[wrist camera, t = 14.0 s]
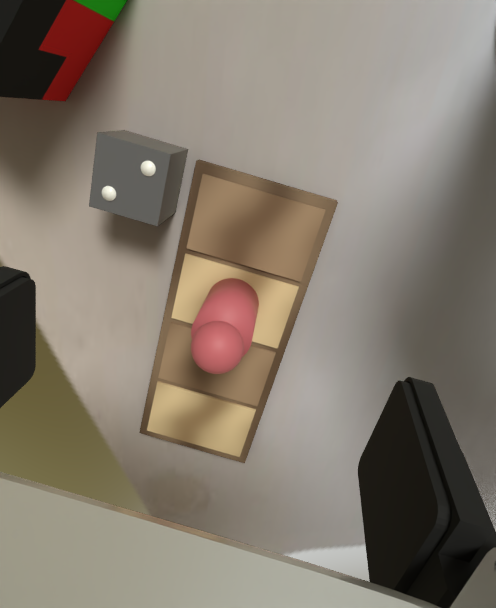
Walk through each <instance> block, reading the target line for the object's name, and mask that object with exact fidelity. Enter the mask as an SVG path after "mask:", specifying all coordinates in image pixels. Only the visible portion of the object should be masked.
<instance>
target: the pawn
mask: <svg viewBox="0 0 496 608" xmlns="http://www.w3.org/2000/svg"><path fill="white" fill-rule="evenodd" d="M258 308H259V299H258V296H257V293H256V291H255V290H254V289H253V288H252V286H250V285H249V284H248V283H247V282H245V281H243V280H240V279H236V278H228V279H223V280H221V281H219V282H217V283H216V284H214V285H213V286H212V288H211V289H210V291H209V293H208V295H207V297H206V299H205V301H204V303H203V305H202V307H201V309H200V311H199V313H198V315H197V317H196V319H195V321H194V323H193V325H192V329H191V338H192V342H191V353H192V357H193V359H194V361H195V363H196V364H197V365H198V366H199V367H200V368H201V369H202V370H204V371H206V372H208V373H212V374H223V373H226V372H229V371H231V370H232V369H234V368H235V367H236V366H237V365H238V364H239V362H240V361H241V359H242V357H243V356H244V355H245V354H246V353H247V352H248V350H249V348H250V346H251V343H252V338H253V333H254V328H255V323H256V318H257V313H258Z"/></svg>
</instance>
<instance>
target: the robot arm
mask: <svg viewBox="0 0 496 608" xmlns="http://www.w3.org/2000/svg"><path fill="white" fill-rule="evenodd" d="M35 328H36V287H35V282H34V281H33V280H31V279H30V276H29V274H28V273H27V272H24V271H20V270H16V269H13V268H9V267H5V266H3V267H0V408H1V407H2V406H3V405H4V404H5V403H6V402H7V401H8V400H9V399H10V398H11V397H12V396H13V395H14V394H15V393H16V392H17V391H18V390H20V389H21V387H23V386H24V385H25V384H26V383H27V382H28V381H29V380H30V379H31V377H32V376H33V373H34V371H35V338H36V336H35V334H36V333H35V332H36V329H35ZM358 478H359V487H360V496H361V506H362V515H363V524H364V533H365V542H366V552H367V560H368V570H369V579H370V582H368V581H365V580H361V579H358V578H355V577H352V576H349V575H345V574H343V573H339V572H336V571H333V570H330V569H327V568H324V567H320V566H317V565H314V564H311V563H308V562H304V561H301V560H298V559H294V558H291V557H288V556H284V555H281V554H278V553H274V552H271V551H268V550H264V549H261V548H258V547H254V546H251V545H248V544H244V543H241V542H238V541H234V540H231V539H228V538H224V537H221V536H217V535H214V534H211V533H207V532H204V531H201V530H197V529H194V528H191V527H187V526H184V525H181V524H177V523H174V522H170V521H167V520H164V519H160V518H157V517H153V516H150V515H146V514H143V513H140V512H136V511H133V510H129V509H126V508H122V507H119V506H115V505H112V504H109V503H106V502H102V501H99V500H95V499H92V498H88V497H85V496H81V495H78V494H74V493H71V492H67V491H64V490H61V489H57V488H54V487H51V486H47V485H44V484H40V483H37V482H33V481H30V480H26V479H23V478H19V477H15V476H12V475H9V474H5V473H2V472H0V608H496V532H495V529H494V527H493V524H492V522H491V520H490V517H489V515H488V512H487V510H486V508H485V505H484V503H483V500H482V498H481V496H480V493H479V491H478V488H477V486H476V484H475V481H474V479H473V476H472V474H471V472H470V469H469V467H468V464H467V462H466V460H465V457H464V455H463V453H462V451H461V449H460V447H459V445H458V442H457V440H456V438H455V435H454V433H453V430H452V428H451V425H450V423H449V421H448V418H447V416H446V413H445V411H444V409H443V406H442V404H441V401H440V399H439V396H438V394H437V392H436V389H435V387H434V385H433V384H432V383H429V382H425V381H422V380H418V379H414V378H411V377H408V378H406V379H405V381H404V382H403V381H398V382H397V383H396V384H395V386H394V388H393V390H392V392H391V395H390V397H389V399H388V401H387V403H386V405H385V407H384V409H383V411H382V414H381V416H380V418H379V420H378V422H377V424H376V426H375V428H374V430H373V433H372V435H371V437H370V439H369V441H368V443H367V445H366V447H365V450H364V452H363V454H362V456H361V458H360V461H359V466H358Z"/></svg>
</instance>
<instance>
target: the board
mask: <svg viewBox="0 0 496 608" xmlns="http://www.w3.org/2000/svg"><path fill="white" fill-rule="evenodd" d="M337 204H338V202H337V200H333V199H330V198H327V197H323V196H320V195H317V194H313V193H310V192H307V191H303V190H300V189H296V188H293V187H290V186H286V185H283V184H280V183H276V182H273V181H270V180H266V179H263V178H259V177H256V176H253V175H249V174H246V173H243V172H239V171H236V170H232V169H229V168H226V167H222V166H219V165H216V164H212V163H209V162H206V161H202V160H197V161H196V165H195V170H194V175H193V179H192V184H191V189H190V194H189V198H188V203H187V208H186V213H185V218H184V222H183V227H182V232H181V237H180V241H179V246H178V251H177V256H176V261H175V265H174V270H173V275H172V280H171V284H170V289H169V294H168V299H167V304H166V308H165V313H164V318H163V323H162V327H161V332H160V337H159V342H158V347H157V351H156V356H155V361H154V366H153V370H152V375H151V380H150V385H149V390H148V394H147V399H146V404H145V409H144V413H143V418H142V423H141V428H140V433H142V434H145V435H149V436H152V437H156V438H159V439H163V440H166V441H170V442H173V443H177V444H180V445H184V446H187V447H191V448H194V449H197V450H201V451H204V452H208V453H211V454H215V455H218V456H222V457H225V458H229V459H232V460H236V461H239V462H243V463H245V461H246V458H247V455H248V452H249V449H250V447H251V444H252V441H253V438H254V435H255V433H256V430H257V427H258V424H259V421H260V419H261V416H262V413H263V410H264V408H265V405H266V402H267V399H268V396H269V394H270V391H271V388H272V385H273V382H274V380H275V377H276V374H277V371H278V368H279V366H280V363H281V360H282V357H283V354H284V352H285V349H286V346H287V343H288V340H289V338H290V335H291V332H292V329H293V327H294V324H295V321H296V318H297V315H298V313H299V310H300V307H301V304H302V301H303V299H304V296H305V293H306V290H307V287H308V285H309V282H310V279H311V276H312V273H313V271H314V268H315V265H316V262H317V259H318V257H319V254H320V251H321V248H322V245H323V243H324V240H325V237H326V234H327V232H328V229H329V226H330V223H331V220H332V218H333V215H334V212H335V209H336V206H337ZM228 278H236V279H240V280H243V281H245V282H247V283H248V284H249V285H250V286H252V288H253V289H254V290H255V291H256V293H257V296H258V299H259V308H258V313H257V318H256V323H255V328H254V333H253V338H252V343H251V346H250V348H249V350H248V352H247V353H246V354H245V355H244V356H243V357H242V359H241V361H240V362H239V364H238V365H237V366H236V367H235V368H234V369H232V370H231V371H229V372H226V373H223V374H212V373H208V372H206V371H204V370H202V369H201V368H200V367H199V366H198V365H197V364H196V363H195V361H194V359H193V357H192V353H191V342H192V338H191V329H192V325H193V323H194V321H195V319H196V317H197V315H198V313H199V311H200V309H201V307H202V305H203V303H204V301H205V299H206V297H207V295H208V293H209V291H210V289H211V288H212V286H213V285H214V284H216V283H217V282H219V281H221V280H223V279H228Z"/></svg>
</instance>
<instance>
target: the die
mask: <svg viewBox="0 0 496 608" xmlns="http://www.w3.org/2000/svg"><path fill="white" fill-rule="evenodd" d="M187 152H188V149H186V148H182V147H179V146H176V145H172V144H169V143H166V142H162V141H159V140H156V139H152V138H149V137H146V136H142V135H139V134H135V133H132V132H129V131H125V130H123V131H109V132H97V140H96V149H95V158H94V166H93V175H92V184H91V193H90V202H89V206H90V207H93V208H97V209H100V210H104V211H107V212H110V213H114V214H117V215H121V216H124V217H127V218H131V219H134V220H137V221H141V222H144V223H148V224H151V225H154V226H159V225H160V224H161V223H162V222H164V221H165V220H166V219H168V218H169V217H170V216H171V215H173V214H174V213H175V212H176V207H177V202H178V197H179V192H180V187H181V182H182V177H183V172H184V167H185V162H186V157H187Z"/></svg>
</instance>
